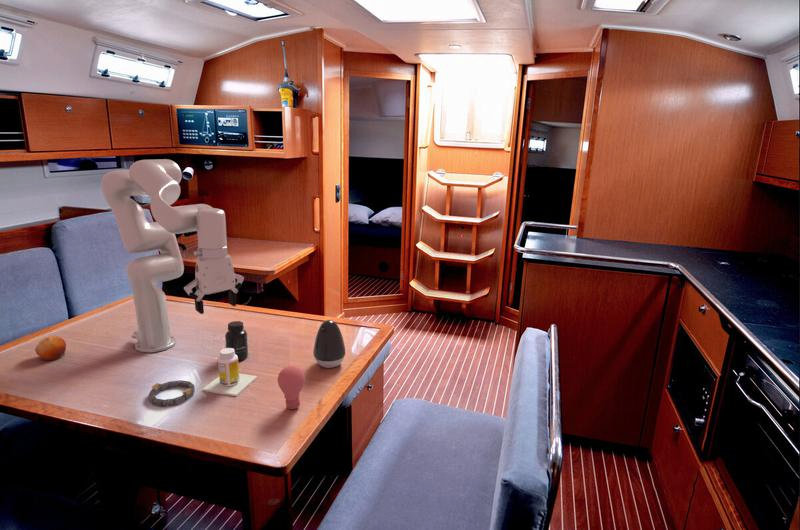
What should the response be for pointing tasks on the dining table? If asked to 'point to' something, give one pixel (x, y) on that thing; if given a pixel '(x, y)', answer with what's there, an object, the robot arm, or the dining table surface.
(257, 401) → the dining table surface
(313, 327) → the dining table surface
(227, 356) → the supplement bottle
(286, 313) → the dining table surface
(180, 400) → the collar
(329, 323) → the pump dispenser
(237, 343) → the supplement bottle
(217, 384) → the coaster
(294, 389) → the light bulb
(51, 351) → the fruit
